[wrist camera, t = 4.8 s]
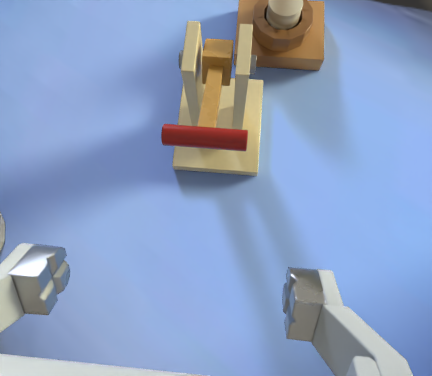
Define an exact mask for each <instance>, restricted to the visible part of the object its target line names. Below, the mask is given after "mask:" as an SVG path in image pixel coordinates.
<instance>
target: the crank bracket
mask: <svg viewBox="0 0 432 376" xmlns="http://www.w3.org/2000/svg"><path fill="white" fill-rule="evenodd" d="M252 31H253V25H252V24H240V27H239V38H238V50H237V62H236V73H235V78H231V80H230V86H222V89H221V96H220V104H219V111H218V118H217V125H216V128H228V129H242V130H248V141H247V150H246V151H232V150H219V149H206V148H193V147H180V146H175V149H174V157H173V164H172V166H173V168H174V169H175V170H188V171H201V172H213V173H226V174H238V175H251V176H257V173H258V161H259V145H260V128H261V112H262V95H263V80H254V79H249V74H255V70H256V59H257V56H256V55H251V45H252ZM202 53H203V48H202V37H201V26H200V22H197V21H188V22H187V27H186V35H185V42H184V50H181V51H180V53H179V68H180V69H181V74H182V79H183V88H182V96H181V103H180V111H179V119H178V125H187V126H197V124H198V119H199V114H200V109H201V104H202V99H203V94H204V89H205V84H202Z"/></svg>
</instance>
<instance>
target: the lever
mask: <svg viewBox="0 0 432 376" xmlns="http://www.w3.org/2000/svg"><path fill="white" fill-rule="evenodd" d="M232 57H233V40H222V39H206V41H205V45H204V49H203V53H202V84H205V89H204V94H203V99H202V104H201V109H200V114H199V119H198V124H197V126H187V125H174V124H164V125H163V127H162V134H161V139H162V144H163V145H167V146H180V147H193V148H206V149H219V150H232V151H246V150H247V141H248V130H242V129H228V128H216V125H217V118H218V111H219V104H220V96H221V89H222V86H230V80H231V71H232Z"/></svg>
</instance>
